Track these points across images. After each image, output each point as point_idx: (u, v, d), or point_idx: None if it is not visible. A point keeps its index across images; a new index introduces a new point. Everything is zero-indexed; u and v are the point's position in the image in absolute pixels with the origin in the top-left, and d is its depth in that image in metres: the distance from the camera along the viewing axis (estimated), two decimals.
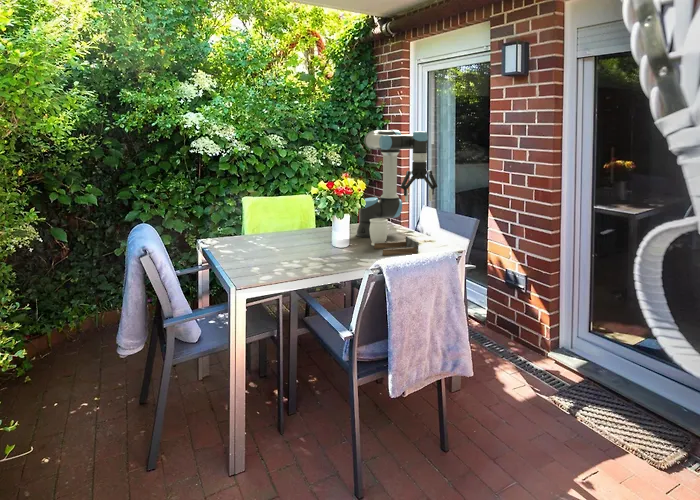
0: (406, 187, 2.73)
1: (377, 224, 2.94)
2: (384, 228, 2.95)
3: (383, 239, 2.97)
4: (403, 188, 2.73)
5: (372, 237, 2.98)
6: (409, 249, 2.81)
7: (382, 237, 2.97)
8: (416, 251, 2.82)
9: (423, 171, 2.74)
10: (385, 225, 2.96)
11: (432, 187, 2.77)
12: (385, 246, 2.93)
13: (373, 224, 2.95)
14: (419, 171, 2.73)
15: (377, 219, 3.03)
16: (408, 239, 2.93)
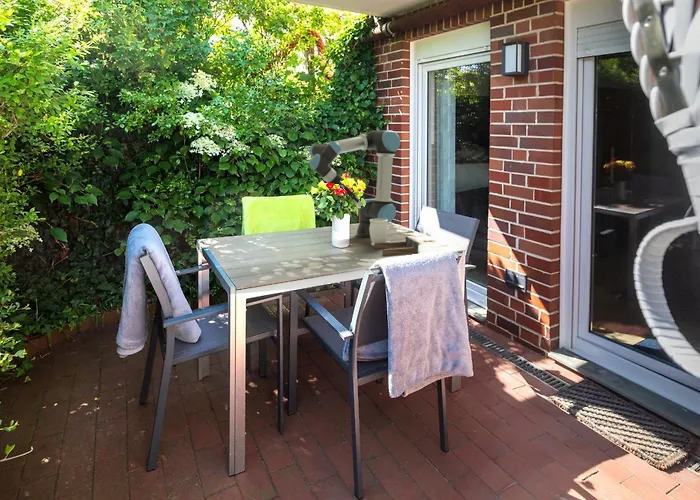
0: None
1: (377, 224, 2.94)
2: (384, 228, 2.95)
3: (383, 239, 2.97)
4: None
5: (372, 237, 2.98)
6: (409, 249, 2.81)
7: (382, 237, 2.97)
8: (416, 251, 2.82)
9: None
10: (385, 225, 2.96)
11: None
12: (385, 246, 2.93)
13: (373, 224, 2.95)
14: None
15: (377, 219, 3.03)
16: (408, 239, 2.93)
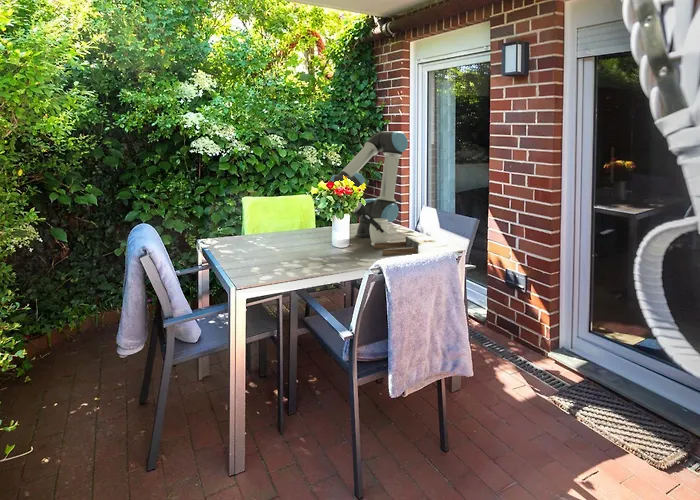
0: (369, 224, 3.04)
1: None
2: (384, 228, 2.95)
3: (383, 239, 2.97)
4: (369, 224, 3.06)
5: (372, 237, 2.98)
6: (409, 249, 2.81)
7: (382, 237, 2.97)
8: (416, 251, 2.82)
9: (363, 216, 2.93)
10: (385, 225, 2.96)
11: (376, 228, 2.93)
12: (385, 246, 2.93)
13: None
14: (362, 215, 2.96)
15: (377, 219, 3.03)
16: (408, 239, 2.93)
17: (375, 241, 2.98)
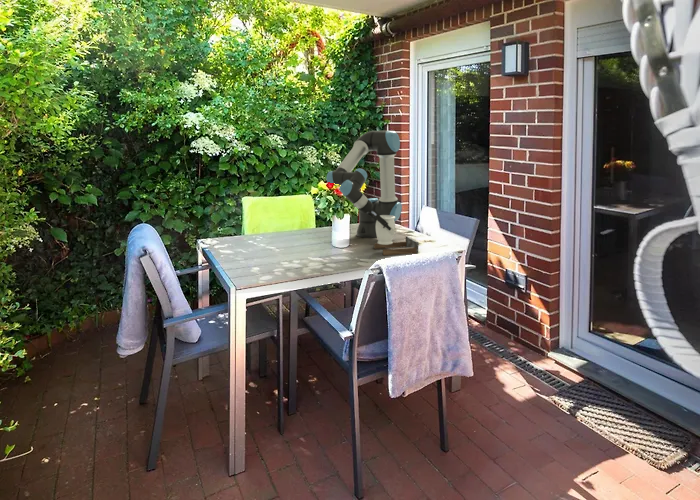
0: (375, 221, 2.87)
1: None
2: (391, 225, 2.79)
3: (389, 237, 2.80)
4: (375, 221, 2.89)
5: (378, 235, 2.81)
6: (409, 249, 2.81)
7: (389, 235, 2.80)
8: (416, 251, 2.82)
9: (369, 212, 2.77)
10: (392, 222, 2.79)
11: None
12: (385, 246, 2.93)
13: None
14: (368, 212, 2.79)
15: (384, 216, 2.86)
16: (408, 239, 2.93)
17: (382, 239, 2.81)
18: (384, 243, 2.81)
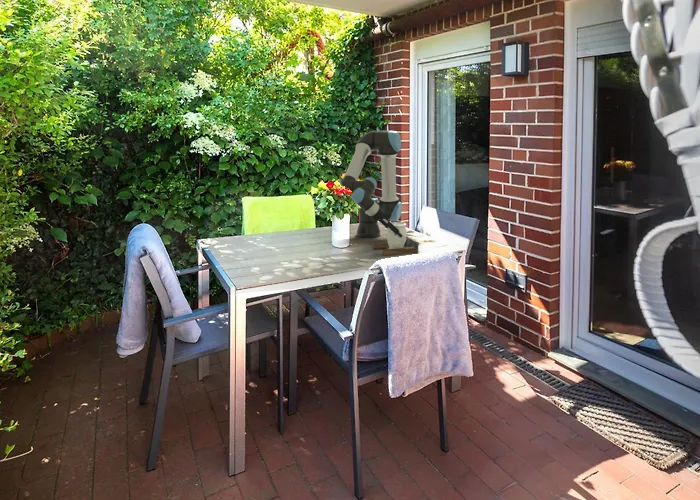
0: None
1: None
2: (402, 233, 2.81)
3: (401, 244, 2.83)
4: None
5: (390, 242, 2.84)
6: (409, 249, 2.81)
7: (401, 242, 2.83)
8: (416, 251, 2.82)
9: (380, 219, 2.79)
10: (403, 229, 2.82)
11: None
12: (385, 246, 2.93)
13: None
14: (379, 219, 2.82)
15: (395, 223, 2.89)
16: (408, 239, 2.93)
17: (393, 246, 2.84)
18: None
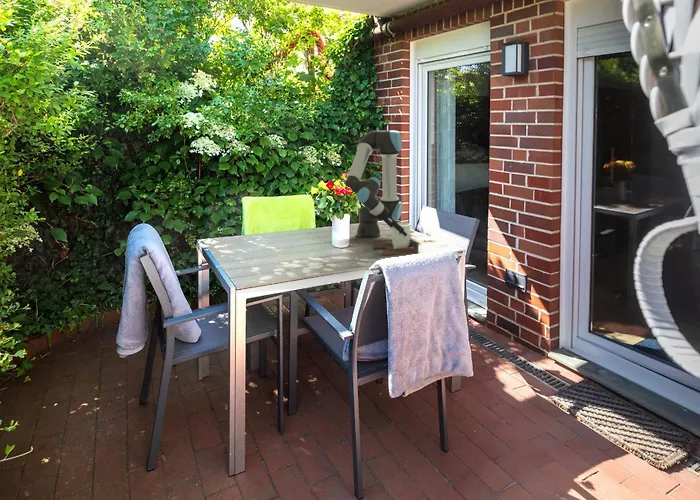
0: None
1: None
2: None
3: (405, 244, 2.84)
4: None
5: (394, 242, 2.85)
6: (409, 249, 2.81)
7: (405, 242, 2.84)
8: (416, 251, 2.82)
9: (385, 219, 2.80)
10: (408, 230, 2.83)
11: None
12: (385, 246, 2.93)
13: None
14: (384, 218, 2.82)
15: (399, 223, 2.90)
16: None
17: (398, 246, 2.84)
18: None
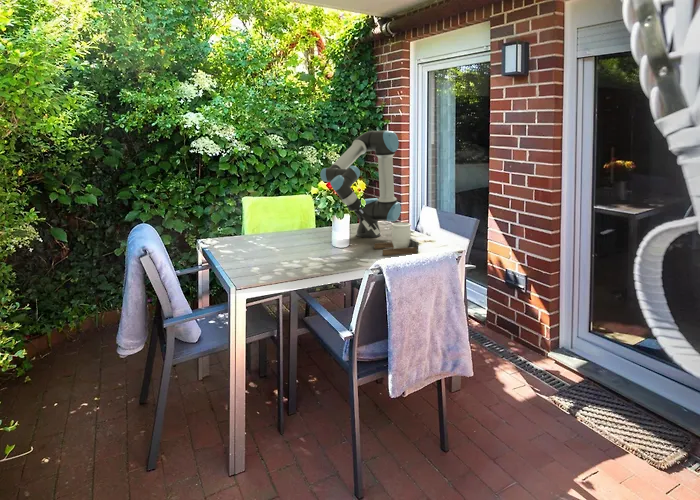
0: (360, 219, 2.88)
1: (400, 229, 2.81)
2: (407, 233, 2.82)
3: (405, 244, 2.84)
4: (359, 219, 2.90)
5: (394, 242, 2.85)
6: (409, 249, 2.81)
7: (405, 242, 2.84)
8: (416, 251, 2.82)
9: (356, 210, 2.76)
10: (408, 230, 2.83)
11: (369, 225, 2.74)
12: (385, 246, 2.93)
13: (396, 229, 2.82)
14: (355, 210, 2.79)
15: (399, 223, 2.90)
16: None
17: (398, 246, 2.84)
18: None
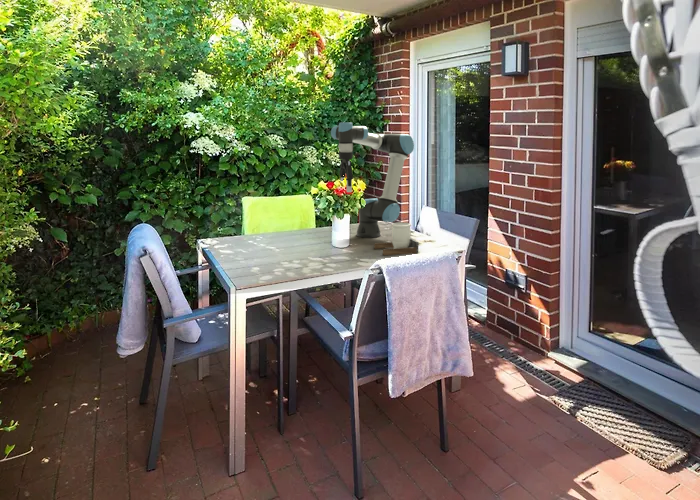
0: (340, 175, 2.91)
1: (400, 229, 2.81)
2: (407, 233, 2.82)
3: (405, 244, 2.84)
4: None
5: (394, 242, 2.85)
6: (409, 249, 2.81)
7: (405, 242, 2.84)
8: (416, 251, 2.82)
9: (344, 161, 2.81)
10: (408, 230, 2.83)
11: None
12: (385, 246, 2.93)
13: (396, 229, 2.82)
14: (343, 161, 2.83)
15: (399, 223, 2.90)
16: None
17: (398, 246, 2.84)
18: None
